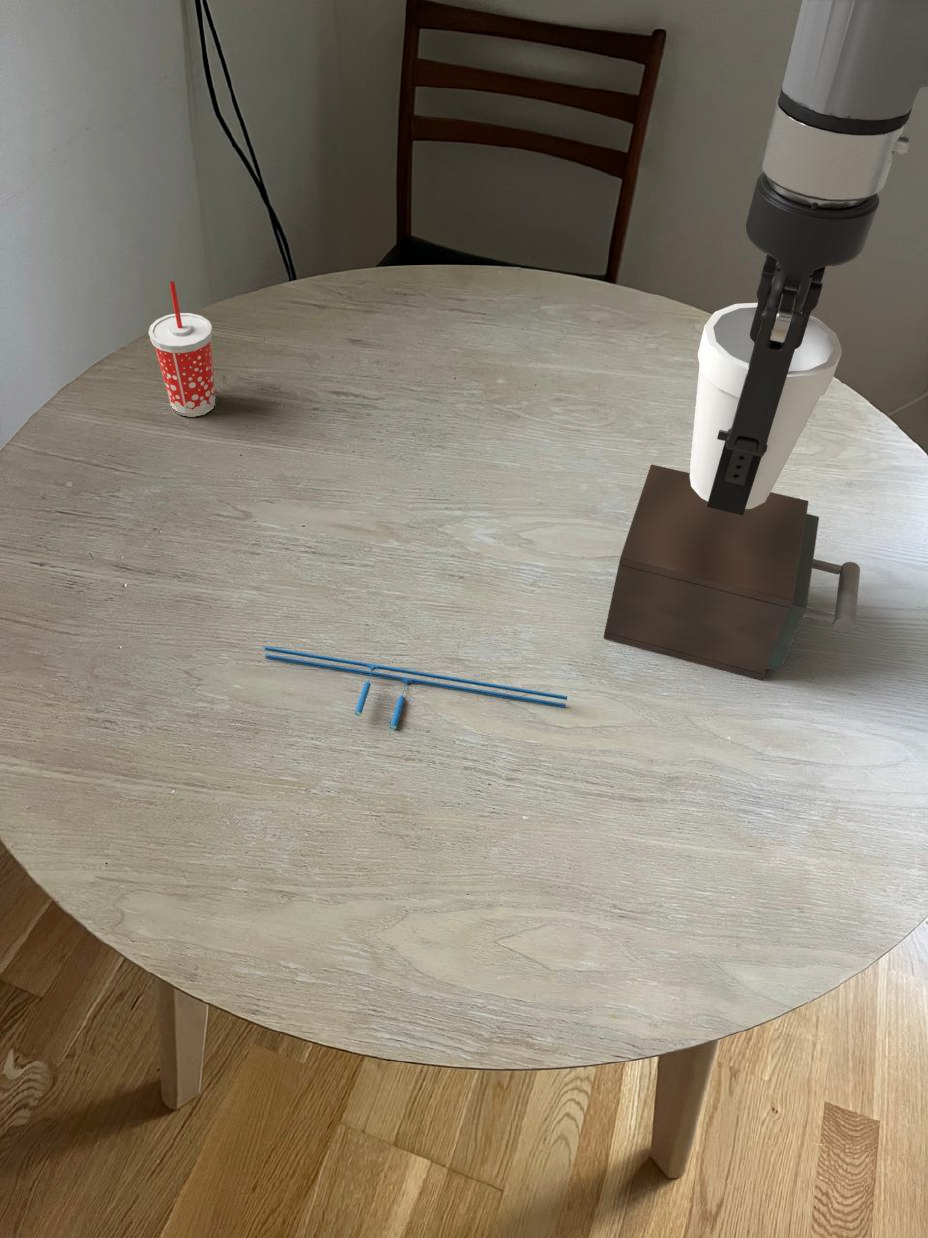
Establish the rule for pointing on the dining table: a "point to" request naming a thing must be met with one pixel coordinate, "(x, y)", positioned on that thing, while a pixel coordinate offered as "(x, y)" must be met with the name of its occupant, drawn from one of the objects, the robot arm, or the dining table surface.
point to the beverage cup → (185, 358)
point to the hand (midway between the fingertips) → (735, 468)
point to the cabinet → (706, 576)
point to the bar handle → (410, 681)
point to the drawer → (845, 593)
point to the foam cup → (722, 386)
